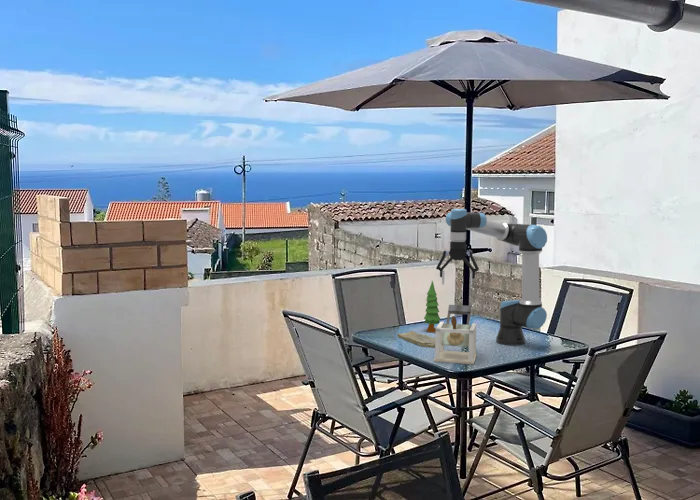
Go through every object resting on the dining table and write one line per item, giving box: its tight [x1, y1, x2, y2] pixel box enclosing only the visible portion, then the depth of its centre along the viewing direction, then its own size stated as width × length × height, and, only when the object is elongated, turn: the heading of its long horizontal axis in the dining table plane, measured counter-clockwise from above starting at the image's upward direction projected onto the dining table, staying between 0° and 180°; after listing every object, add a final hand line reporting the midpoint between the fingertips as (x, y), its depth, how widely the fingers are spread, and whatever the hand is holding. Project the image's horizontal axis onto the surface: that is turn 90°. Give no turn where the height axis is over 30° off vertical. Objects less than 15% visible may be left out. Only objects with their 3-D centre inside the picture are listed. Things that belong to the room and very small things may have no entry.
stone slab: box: [397, 330, 435, 349], centre depth 373 cm, size 12×4×30 cm
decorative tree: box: [423, 280, 441, 333], centre depth 398 cm, size 10×9×30 cm
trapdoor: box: [442, 304, 472, 348], centre depth 341 cm, size 13×25×2 cm
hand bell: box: [447, 315, 464, 345], centre depth 330 cm, size 8×8×16 cm
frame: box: [433, 321, 478, 365], centre depth 337 cm, size 19×19×16 cm
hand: (457, 284), depth 332 cm, fingers open, 13 cm apart
